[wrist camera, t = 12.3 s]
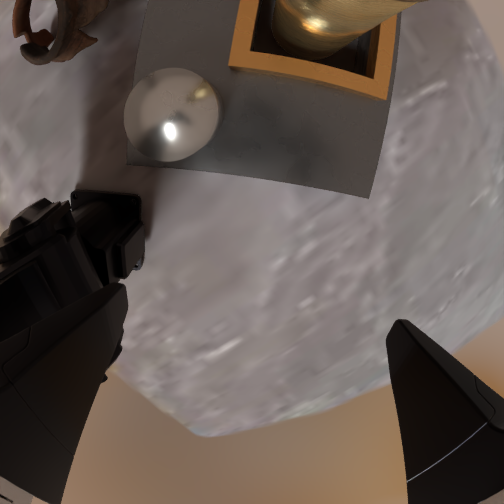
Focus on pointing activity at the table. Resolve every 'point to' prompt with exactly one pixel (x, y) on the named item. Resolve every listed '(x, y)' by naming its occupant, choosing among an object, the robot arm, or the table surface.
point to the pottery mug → (68, 36)
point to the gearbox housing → (255, 100)
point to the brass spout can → (328, 23)
